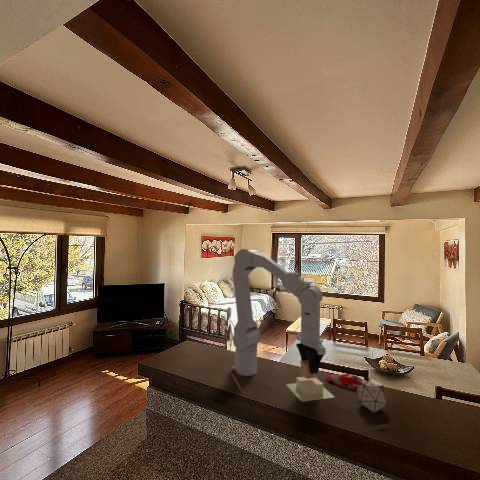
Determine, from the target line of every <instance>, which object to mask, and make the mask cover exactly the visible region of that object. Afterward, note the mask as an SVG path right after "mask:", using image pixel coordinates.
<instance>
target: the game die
mask: <svg viewBox="0 0 480 480" xmlns="http://www.w3.org/2000/svg"><path fill="white" fill-rule="evenodd" d="M366 381H367V382H366V383H364V384H363V385H361V386H360V387H358V388H355V387H354V389H353V390H354V391H356V393H357V397H358V401H357V404H361V406H363V408H365V409H367V410H369V411H370V412H371V413H372V414H376V413H377V412H378V411H380V410H381V409H383V408H385V406H388V407H391V404H390V403H388V402H387V399H386V396H385V393H384V392H385V389H383V388H384V385H383V384H382V385H379V384H376V383H375V382H373V381H371V379H370V377H369V376H367V380H366Z"/></svg>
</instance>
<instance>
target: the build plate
mask: <svg viewBox="0 0 480 480" xmlns="http://www.w3.org/2000/svg"><path fill="white" fill-rule="evenodd" d="M285 386H287V388H288V389H289V390H290V391H291V392H292V393H293V394H294V395H295V396H296V398H297V399H298V400H299V401H300V402H302V403H303V402H304V403H305V402H310V401H318V400H325V399H332V398H336V396H334V395H333V394H332V393H331V392H330V391H329V390H328V389H327V388H325V386H323V394H320V395H312V396H304V394H303V393H302V392H301V391H300V390H299V389H298V388H297V387H296V382H295V383H294V382H293V383H288V384H285Z"/></svg>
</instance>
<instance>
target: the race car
mask: <svg viewBox="0 0 480 480" xmlns="http://www.w3.org/2000/svg"><path fill="white" fill-rule="evenodd" d="M325 380H326V381H327V383H329V384H332V385H336V386H340V387H344V388H348V389H351V390H355V389H354V387H355V388H358V387H360V386H361V385H363V384H364V383H366V382H367V381H368V380H366V379H364V378H362V377H360V376H357V375H355V374H352V373H343V374H337V373H335V374H334V373H333V374H332V373H331V374H329V375H327V376H326V379H325Z"/></svg>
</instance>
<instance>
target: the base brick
mask: <svg viewBox="0 0 480 480" xmlns="http://www.w3.org/2000/svg"><path fill="white" fill-rule="evenodd" d="M295 378H296V379H295V380H296V382H295V383H296V387H297V388H298V389H299V390H300V391H301V392H302V393H303V394H304V396H312V395H320V394H323V387H324V382H321V381H320V379H318V378H310V379H306V378H305V377H304V376H298V377H295Z"/></svg>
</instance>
